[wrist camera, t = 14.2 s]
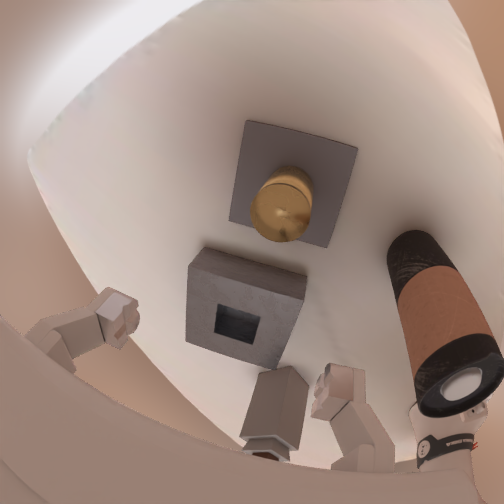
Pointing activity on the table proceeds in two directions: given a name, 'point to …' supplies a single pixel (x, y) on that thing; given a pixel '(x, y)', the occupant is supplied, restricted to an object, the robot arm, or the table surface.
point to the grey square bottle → (275, 415)
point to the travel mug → (442, 329)
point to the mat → (299, 155)
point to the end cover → (283, 205)
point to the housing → (241, 307)
